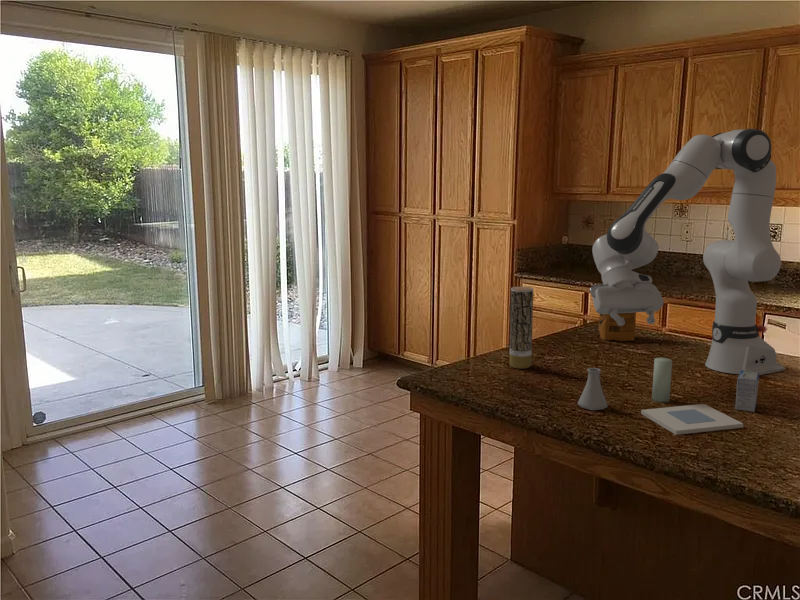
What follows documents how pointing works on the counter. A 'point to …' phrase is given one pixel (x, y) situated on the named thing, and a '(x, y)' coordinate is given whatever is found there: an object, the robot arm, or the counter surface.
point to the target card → (691, 419)
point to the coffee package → (617, 327)
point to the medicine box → (747, 390)
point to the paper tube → (521, 327)
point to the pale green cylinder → (662, 379)
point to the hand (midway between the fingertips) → (637, 323)
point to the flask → (593, 392)
